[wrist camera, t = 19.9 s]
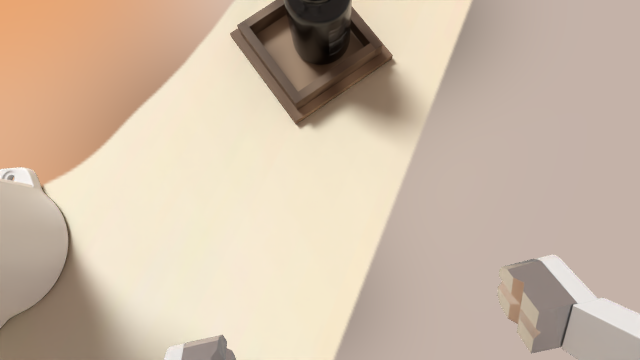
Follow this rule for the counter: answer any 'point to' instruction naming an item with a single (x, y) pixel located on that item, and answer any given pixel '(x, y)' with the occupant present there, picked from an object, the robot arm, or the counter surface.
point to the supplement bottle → (319, 28)
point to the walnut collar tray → (299, 75)
